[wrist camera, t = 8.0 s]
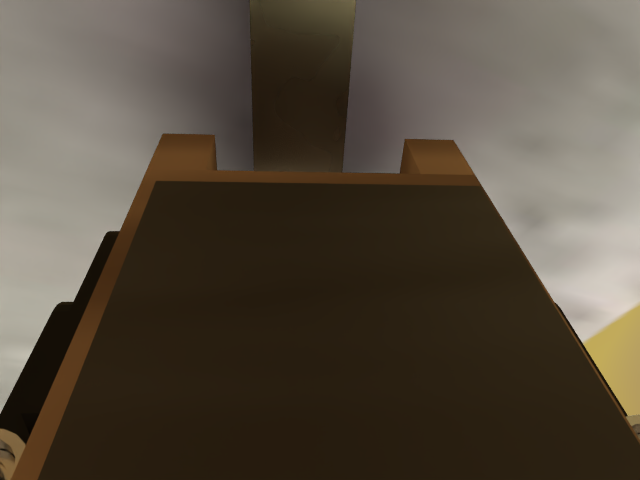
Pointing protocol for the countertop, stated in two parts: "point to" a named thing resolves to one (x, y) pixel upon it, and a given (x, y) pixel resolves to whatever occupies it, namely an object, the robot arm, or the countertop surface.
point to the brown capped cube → (323, 337)
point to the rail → (300, 83)
